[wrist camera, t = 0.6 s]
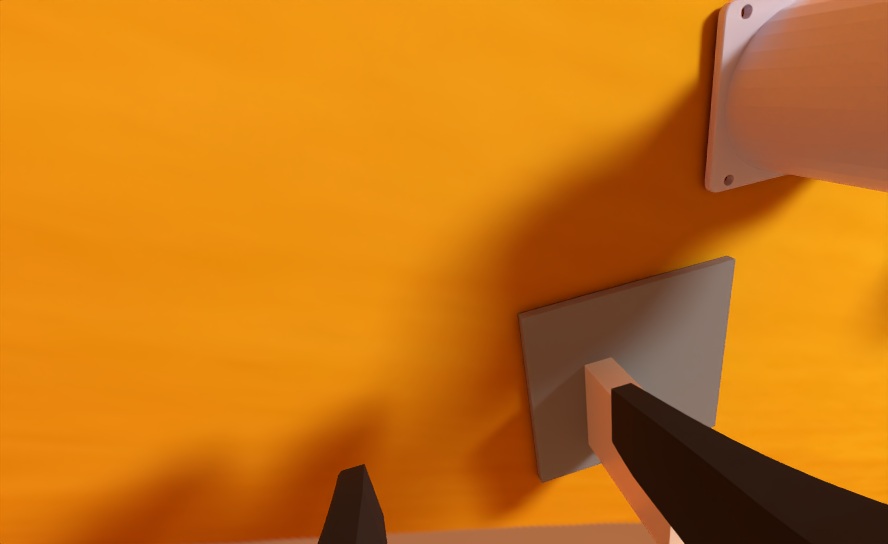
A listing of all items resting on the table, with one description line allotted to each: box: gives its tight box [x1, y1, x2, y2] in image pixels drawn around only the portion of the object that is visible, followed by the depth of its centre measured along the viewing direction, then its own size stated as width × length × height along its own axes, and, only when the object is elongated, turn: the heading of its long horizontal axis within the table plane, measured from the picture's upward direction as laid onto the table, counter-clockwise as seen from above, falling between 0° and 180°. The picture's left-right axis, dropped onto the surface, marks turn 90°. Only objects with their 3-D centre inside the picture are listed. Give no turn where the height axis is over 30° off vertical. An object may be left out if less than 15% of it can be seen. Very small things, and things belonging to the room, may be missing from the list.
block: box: [585, 357, 684, 544], centre depth 21 cm, size 2×6×7 cm, turn 11°
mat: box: [518, 256, 735, 483], centre depth 24 cm, size 12×12×1 cm
